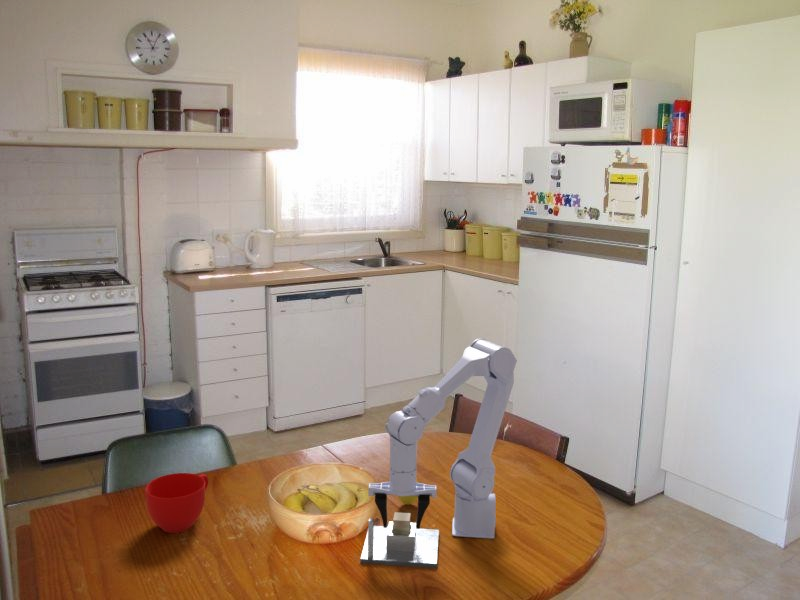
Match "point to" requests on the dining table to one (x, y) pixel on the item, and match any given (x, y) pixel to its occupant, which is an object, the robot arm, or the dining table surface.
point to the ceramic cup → (176, 500)
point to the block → (401, 523)
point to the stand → (400, 546)
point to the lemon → (408, 498)
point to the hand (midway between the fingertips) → (401, 525)
